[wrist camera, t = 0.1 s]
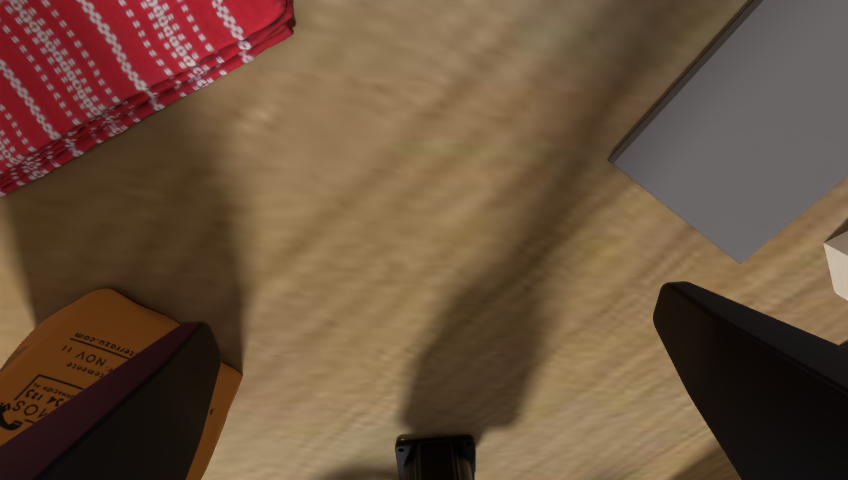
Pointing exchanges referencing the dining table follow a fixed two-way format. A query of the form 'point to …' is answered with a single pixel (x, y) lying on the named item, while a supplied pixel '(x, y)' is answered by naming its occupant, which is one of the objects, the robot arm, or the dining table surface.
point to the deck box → (838, 263)
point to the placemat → (751, 126)
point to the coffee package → (93, 364)
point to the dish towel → (112, 68)
